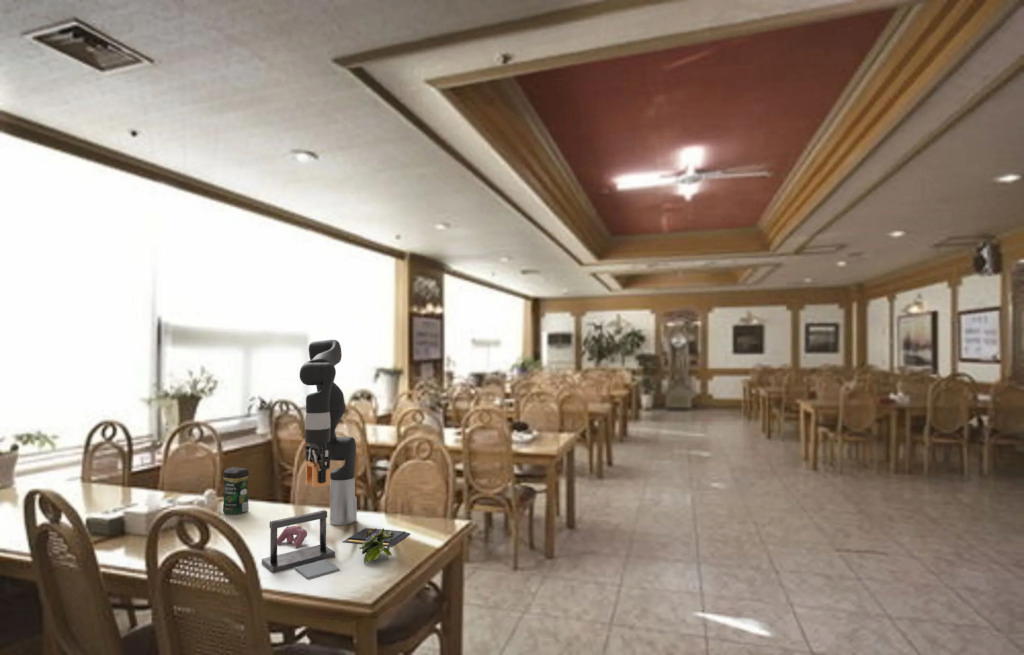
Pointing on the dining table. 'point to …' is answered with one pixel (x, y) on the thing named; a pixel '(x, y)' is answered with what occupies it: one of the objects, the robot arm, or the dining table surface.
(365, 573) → the dining table surface
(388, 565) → the dining table surface
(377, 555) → the green leafy plant
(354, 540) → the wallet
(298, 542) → the pink animal figurine
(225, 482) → the coffee jar
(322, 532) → the hanger stand
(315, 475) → the copper link
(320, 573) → the mat
